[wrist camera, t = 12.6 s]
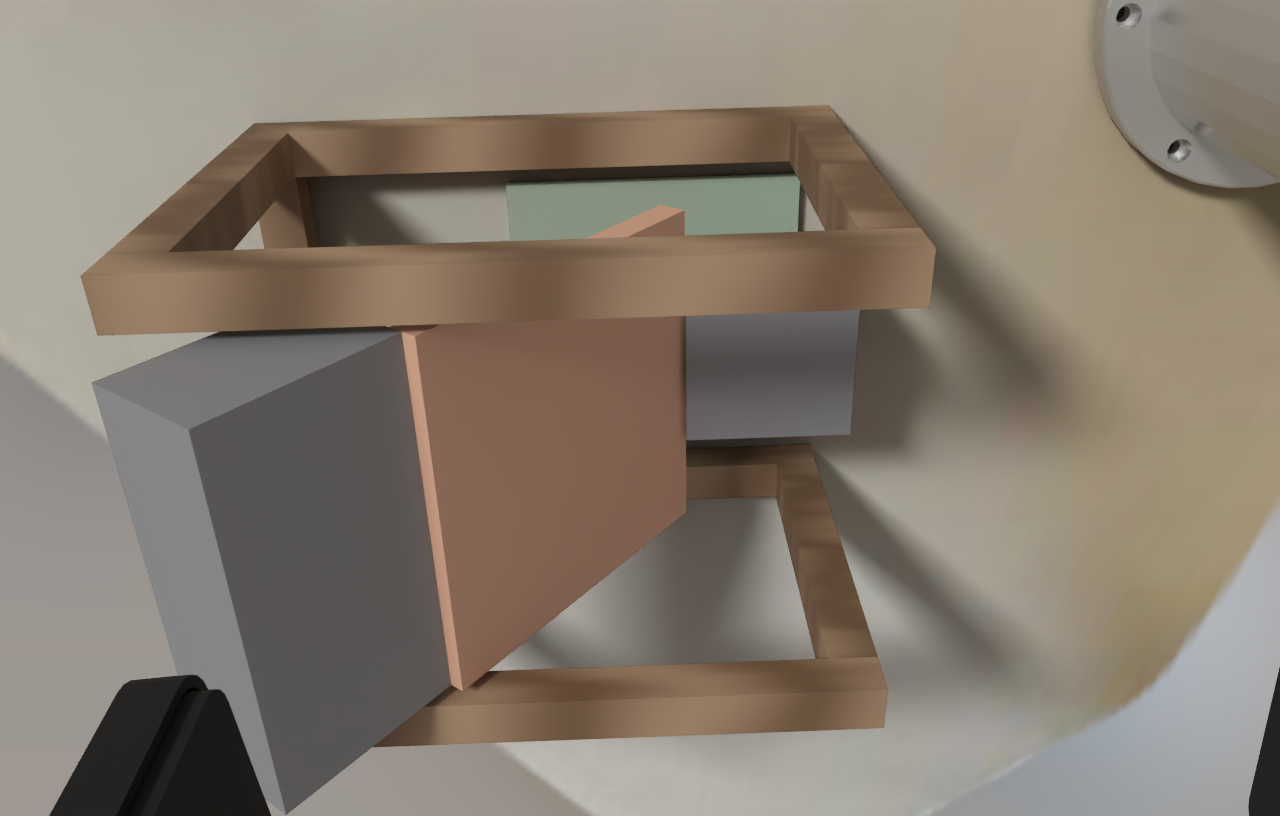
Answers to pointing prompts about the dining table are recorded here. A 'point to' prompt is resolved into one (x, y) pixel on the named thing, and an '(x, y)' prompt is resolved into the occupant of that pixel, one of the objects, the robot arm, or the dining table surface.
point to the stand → (563, 290)
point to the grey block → (770, 374)
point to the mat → (653, 204)
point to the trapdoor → (389, 506)
